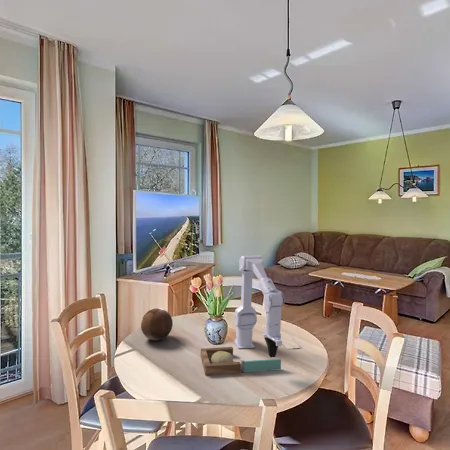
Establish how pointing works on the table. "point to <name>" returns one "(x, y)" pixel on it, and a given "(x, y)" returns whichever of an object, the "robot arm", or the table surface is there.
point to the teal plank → (260, 365)
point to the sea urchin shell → (221, 357)
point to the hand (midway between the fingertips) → (272, 356)
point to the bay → (218, 367)
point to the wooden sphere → (156, 324)
